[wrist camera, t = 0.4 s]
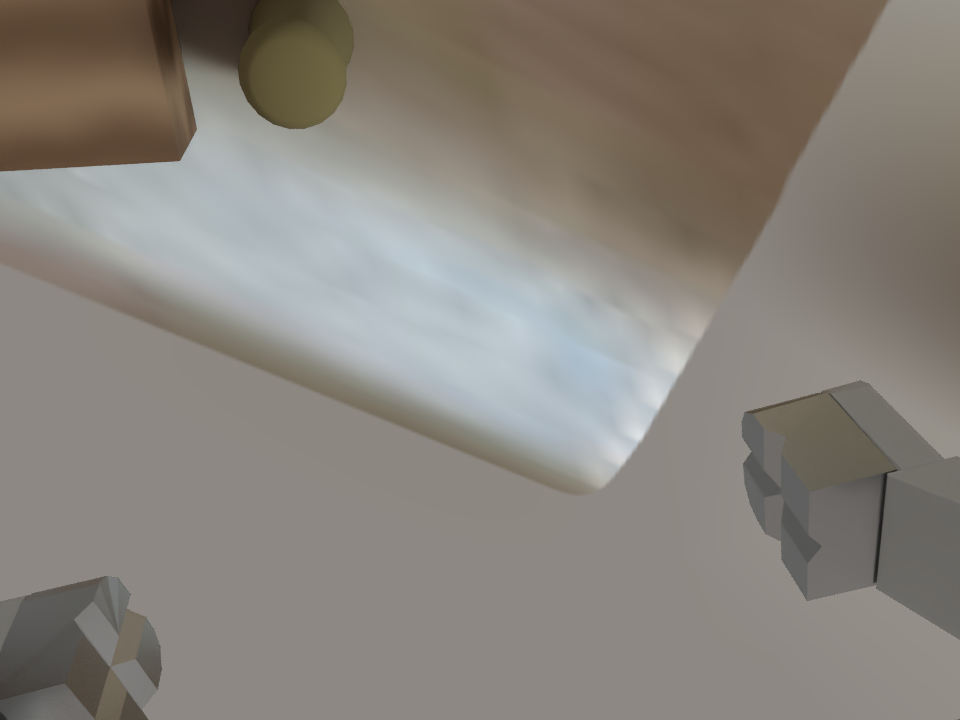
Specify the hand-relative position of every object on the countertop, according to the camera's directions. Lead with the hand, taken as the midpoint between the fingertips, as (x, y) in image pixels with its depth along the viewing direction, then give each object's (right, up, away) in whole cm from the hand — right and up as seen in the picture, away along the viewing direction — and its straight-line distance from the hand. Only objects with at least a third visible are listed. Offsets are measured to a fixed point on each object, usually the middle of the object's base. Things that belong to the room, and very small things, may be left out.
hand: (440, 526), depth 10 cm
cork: (-10, +21, +37) cm, 44 cm away
